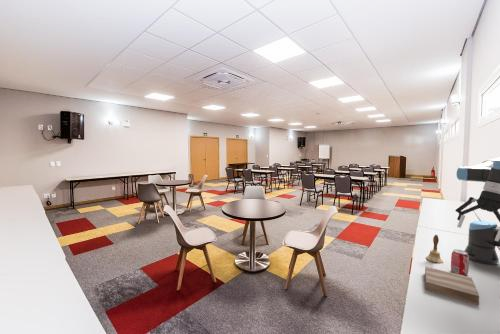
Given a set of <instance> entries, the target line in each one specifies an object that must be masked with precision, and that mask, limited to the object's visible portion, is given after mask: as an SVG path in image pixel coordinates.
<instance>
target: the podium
mask: <svg viewBox="0 0 500 334" xmlns="http://www.w3.org/2000/svg"><path fill="white" fill-rule="evenodd" d="M424 276H425V278H424V281H425V290H426V291H429V292H432V291H433V292H432V293H435V294H439V295H443V296H447V297H450V298H453V299H457V300H461V301H464V302H468V303H471V304H475V305H477V306H478V305H480V294H479V292H478V290H477V288H476V285H475V282H474V280H473V278H472V277H470V276H467V275H459V274H456V273H454V272H452V271H445V270H442V269H437V268H433V267H429V266H425V267H424Z"/></svg>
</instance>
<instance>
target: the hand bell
mask: <svg viewBox="0 0 500 334" xmlns="http://www.w3.org/2000/svg"><path fill="white" fill-rule="evenodd" d="M432 241H433V242H432V243H433V249H431V250H430V251H429V253H428V255H427V256H426V257H425V259H426V260H427V259H428V260H427V261H429V260H430V261H429V262H431V261H433V262H432V263H434V262H437V263H436V264H443V263H444V260H443V259H442V258H441V253H440V251H438V245H439V236H438V234H434V236H433V237H432Z"/></svg>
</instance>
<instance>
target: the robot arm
mask: <svg viewBox="0 0 500 334" xmlns="http://www.w3.org/2000/svg"><path fill="white" fill-rule="evenodd" d="M456 178H457V180H459V181H465V182H479V183H480V182H482V183H484V185H483V187H482V189H483V190H481V192H480V195H479V197H478V198H475V197H472V196H470V197H469V198H468V199H467V201H465V202H464V203H463V204H462V205H460V206H459V207H458V208H456V209H455V212H456V213H458V217H457V218H456V219H457V221H458V222H457V223H458V224H457V226H456V227H457V228H460V229H461V228H462V225H463V222H464V220H465V218H466V214H468V213H471V212H473V211H476V210H478V209H480V210H483V211H487V212H489V213H493V214H494V215H495V217H496V218H497V221H498V222H499V223H500V212H499V210H500V157H497V158H491V159H488V160H484V161H482V162H481V163H479V164H477V165H473V166H459V167H458V168H457V170H456ZM475 202H476V205H473V206H471V207H469V206H470V205H471V204H472V203H475ZM467 207H469V208H467ZM465 208H466V209H465ZM496 247H497V248H500V226H498V225H497V223H496V222H492V221H484V220H482V221H471V222H470V223H469V225H468V242H467V245H466V247H465V249H464V250H463V251H465V252H467V253H468V256H469V261H470V260H471V261H473V262H476V263H480V264H484V265H490V264H496V265H498V264H497V263H499V262H500V261H499V260H500V259H499V256H498V253H497V251H496ZM499 264H500V263H499Z"/></svg>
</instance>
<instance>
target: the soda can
mask: <svg viewBox="0 0 500 334" xmlns="http://www.w3.org/2000/svg"><path fill="white" fill-rule="evenodd" d="M450 260H451V261H450V270H451V272H452V273H455V274H459V275H463V276H467V275H468V274H469V269H470V266H469V265H470V259H469V256H468V253H467V252H465V251H464V250H462V249H453V251H451V256H450Z"/></svg>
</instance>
